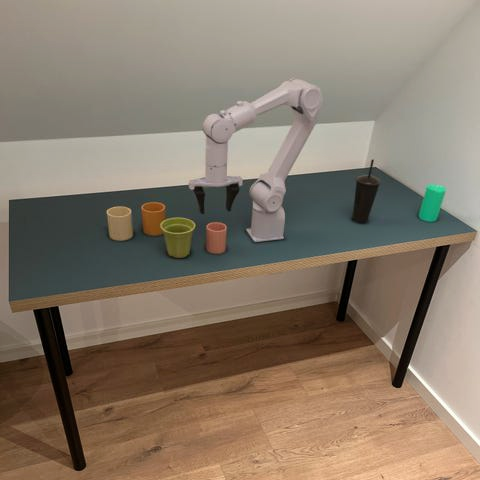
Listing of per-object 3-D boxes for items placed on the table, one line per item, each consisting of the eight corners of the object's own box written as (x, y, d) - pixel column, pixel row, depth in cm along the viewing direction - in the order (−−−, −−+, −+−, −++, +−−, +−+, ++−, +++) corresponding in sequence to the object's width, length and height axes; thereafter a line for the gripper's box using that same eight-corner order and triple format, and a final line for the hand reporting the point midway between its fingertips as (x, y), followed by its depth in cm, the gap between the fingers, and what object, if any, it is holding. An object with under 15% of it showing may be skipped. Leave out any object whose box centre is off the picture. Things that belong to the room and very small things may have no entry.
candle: (416, 218, 170) (426, 184, 163) (420, 212, 174) (430, 178, 167) (435, 223, 168) (445, 188, 161) (438, 216, 172) (449, 182, 165)
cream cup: (131, 228, 154) (129, 205, 149) (134, 239, 149) (132, 215, 144) (108, 231, 152) (105, 207, 147) (110, 241, 147) (108, 217, 142)
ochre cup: (163, 224, 157) (162, 201, 153) (168, 234, 152) (167, 211, 148) (141, 226, 155) (139, 203, 151) (145, 236, 150) (143, 213, 146)
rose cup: (222, 243, 149) (223, 221, 145) (228, 252, 145) (229, 230, 141) (204, 245, 148) (204, 223, 144) (209, 254, 144) (209, 232, 140)
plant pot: (164, 263, 139) (163, 234, 134) (159, 246, 146) (157, 218, 141) (198, 259, 141) (198, 231, 136) (191, 243, 148) (191, 216, 143)
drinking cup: (371, 227, 163) (385, 165, 151) (347, 223, 164) (359, 162, 152) (371, 216, 169) (385, 157, 157) (348, 213, 170) (360, 154, 158)
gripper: (237, 156, 139) (235, 202, 148) (185, 159, 135) (186, 207, 144) (246, 165, 134) (243, 213, 142) (192, 169, 130) (192, 218, 138)
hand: (215, 211), depth 143 cm, fingers open, 7 cm apart
